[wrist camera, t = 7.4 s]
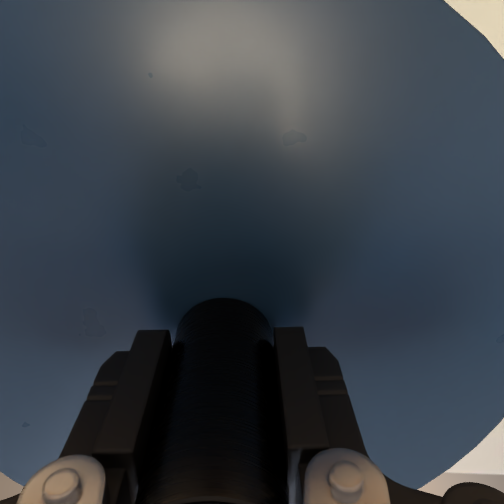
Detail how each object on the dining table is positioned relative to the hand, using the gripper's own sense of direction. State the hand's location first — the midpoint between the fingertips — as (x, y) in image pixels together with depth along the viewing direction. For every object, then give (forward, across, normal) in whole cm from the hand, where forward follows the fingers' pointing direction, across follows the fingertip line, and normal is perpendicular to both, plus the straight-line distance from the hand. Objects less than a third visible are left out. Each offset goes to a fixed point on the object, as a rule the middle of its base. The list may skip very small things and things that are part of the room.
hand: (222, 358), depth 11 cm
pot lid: (+1, 0, 0) cm, 1 cm away
